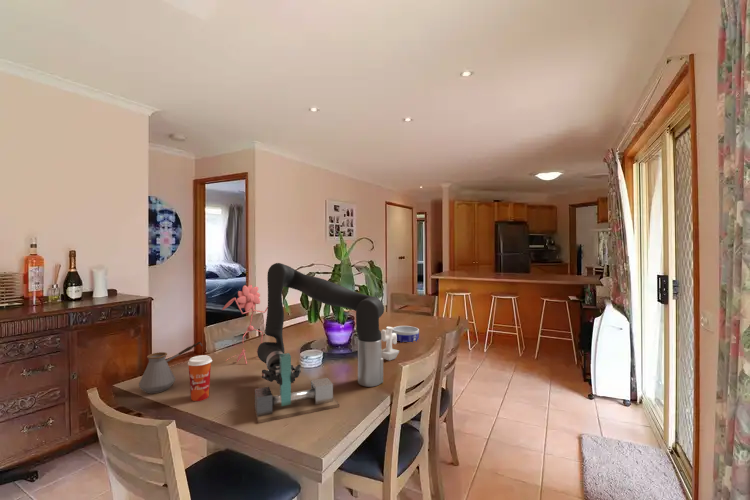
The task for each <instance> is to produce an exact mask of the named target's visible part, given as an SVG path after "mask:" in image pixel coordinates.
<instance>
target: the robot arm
mask: <svg viewBox="0 0 750 500" xmlns="http://www.w3.org/2000/svg"><path fill="white" fill-rule="evenodd" d="M266 279H267V307H268V309H267V311H266V319H265V320H266V321H265V328H264V335H266V336H268V337H272V338H274V339H275V342H273V341H270V342H269V341H262V343H261V342H260V344H259V345H258V346H257V349H258V350H257V349H256V352H257V353H256V354H257V357H258V359H259V360H260V361H261V362H263V363H264V364H266V369H262V370H261V378H262V379H263V380H266V381H268V382H271V383H272V382H274V381H275V382H276V383H277V384H278V385H279V386H280V385H282V377H281V375H280V354H285V344H284V338H283V337H284V335H283V328H284V321H285V311H284V305H283V288H284V287H285V288H289V289H293V290H297V291H299V292H301V293H303V294H304V295H306V296H307V297H308V298H311V299H313V300H315V301H317V302H319V303H321V304H324V305H327V306H333V307H339V308H346V309H350V310H353V311H355V321H356V322H355V328H356V333H357V384H358V385H360V386H363V387H368V388H370V387H371V388H372V387H377V386H379V385H381V384H383V383H384V359H383V358H382V356H381V350H382V339H381V331H382V330H380V318H381V317H382V316H383V314H384V313H385V305H384V303H383V302H382V301H381V300H380V299H379V298H378V297H375V296H371V295H367V294H364V293H361V292H360V293H359V292H356V291H353V290H352V289H349V288H347V287H345V286H342V285H340V284H337V283H334V282H332V281H330V280H327V279H324V278H321V277H317V276H312V275H307V274H305V273H302V272H301V271H298V270H296V269H294V268H293V267H291V266H289V265H286V264H284V263H280V262H276V263H275V262H274V263H273V264H271V265H270V267H269V268H268V271H267V278H266ZM301 368H302V365H301V364H297V365H295V366H294V365H292V364H291V384H294V383H295V381H296V379H297V378H299V376H300V374H301V373H302V372H301V371H302V369H301Z"/></svg>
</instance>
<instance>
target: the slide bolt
mask: <svg viewBox="0 0 750 500" xmlns="http://www.w3.org/2000/svg"><path fill="white" fill-rule="evenodd" d="M291 365H292V355H291V354H290V353H289V352H287V353H284V354H280V375H281V377H282V385H280V384H279V394H277V395H272V406H276V405H281V406H286V405H291V403H292V402H298V401H303V400H309V399H314V398H315V389H311V388H310V389H306V390H299V391H293V392H292V383H291Z"/></svg>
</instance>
